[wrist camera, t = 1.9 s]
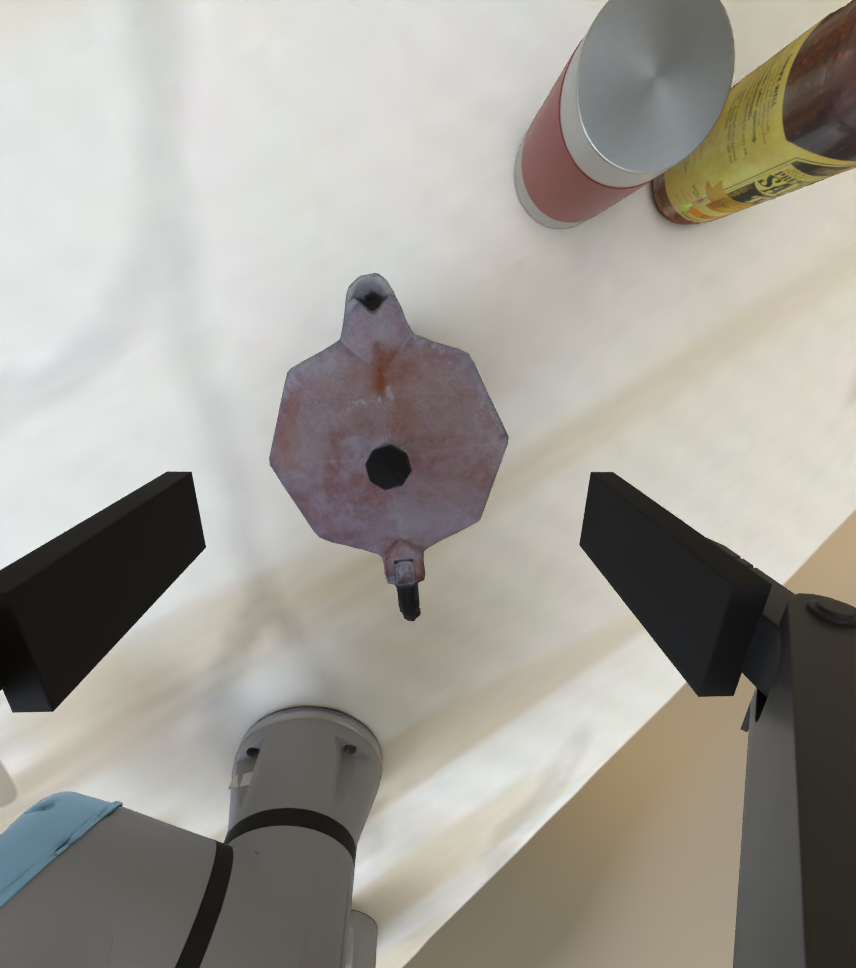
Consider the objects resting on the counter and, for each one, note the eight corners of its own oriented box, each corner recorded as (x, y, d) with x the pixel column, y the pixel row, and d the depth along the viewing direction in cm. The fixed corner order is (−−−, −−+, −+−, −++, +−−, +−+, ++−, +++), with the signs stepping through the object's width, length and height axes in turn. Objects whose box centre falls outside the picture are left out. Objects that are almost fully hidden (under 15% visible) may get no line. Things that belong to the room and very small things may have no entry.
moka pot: (446, 292, 30) (510, 228, 12) (473, 488, 36) (548, 663, 17) (317, 315, 30) (172, 289, 12) (363, 507, 36) (314, 702, 17)
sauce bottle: (660, 245, 30) (1078, 104, 11) (636, 149, 28) (1097, -218, 9) (750, 199, 29) (1357, -33, 11) (732, 97, 27) (1444, -415, 9)
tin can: (606, 231, 29) (713, 177, 19) (509, 228, 29) (565, 172, 19) (623, 108, 27) (756, -28, 17) (518, 104, 27) (587, -38, 16)
